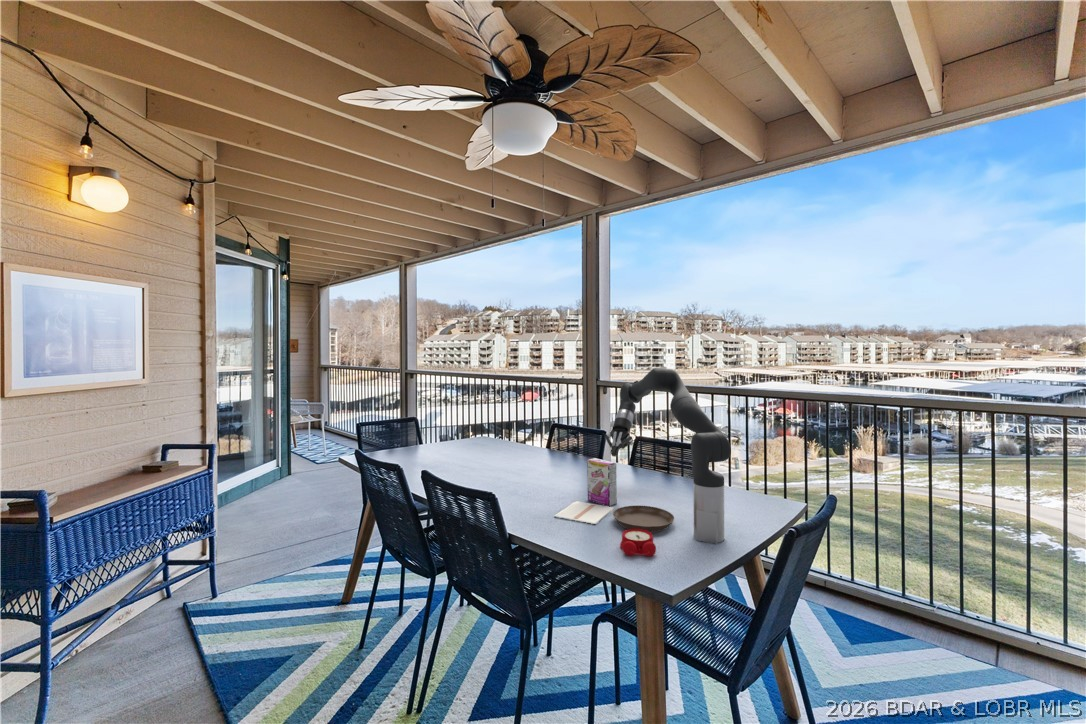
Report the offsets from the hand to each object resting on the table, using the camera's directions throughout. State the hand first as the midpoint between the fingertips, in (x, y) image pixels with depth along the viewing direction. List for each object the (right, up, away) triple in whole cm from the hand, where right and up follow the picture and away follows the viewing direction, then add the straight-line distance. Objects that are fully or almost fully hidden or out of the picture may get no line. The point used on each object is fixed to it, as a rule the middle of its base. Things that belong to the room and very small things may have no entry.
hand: (613, 455), depth 194 cm
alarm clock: (-1, -18, -54) cm, 57 cm away
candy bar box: (-6, -17, -11) cm, 21 cm away
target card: (-14, -17, -22) cm, 31 cm away
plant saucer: (+5, -17, -33) cm, 38 cm away
